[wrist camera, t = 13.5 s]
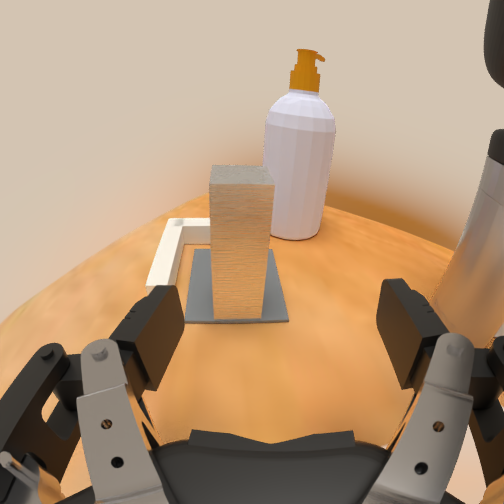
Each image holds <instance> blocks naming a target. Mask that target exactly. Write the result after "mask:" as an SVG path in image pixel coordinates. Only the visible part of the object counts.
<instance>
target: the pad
mask: <svg viewBox="0 0 504 504" xmlns="http://www.w3.org/2000/svg"><path fill="white" fill-rule="evenodd" d="M288 321H289V318H288V313H287V309H286V305H285V301H284V296H283V292H282V288H281V284H280V280H279V275H278V271H277V267H276V263H275V259H274V255H273V251H272V249H269V251H268V260H267V270H266V279H265V288H264V297H263V305H262V314H261V319H257V320H214V309H213V291H212V269H211V249H195V251H194V257H193V264H192V270H191V277H190V284H189V291H188V298H187V305H186V313H185V323H271V322H288Z"/></svg>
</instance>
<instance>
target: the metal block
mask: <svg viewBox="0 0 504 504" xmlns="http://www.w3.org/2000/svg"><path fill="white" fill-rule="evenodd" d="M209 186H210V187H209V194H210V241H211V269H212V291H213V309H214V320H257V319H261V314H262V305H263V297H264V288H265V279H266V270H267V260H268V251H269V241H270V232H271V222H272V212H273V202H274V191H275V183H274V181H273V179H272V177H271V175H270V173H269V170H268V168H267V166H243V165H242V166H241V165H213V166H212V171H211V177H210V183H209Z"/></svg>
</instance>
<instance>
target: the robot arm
mask: <svg viewBox="0 0 504 504" xmlns="http://www.w3.org/2000/svg"><path fill="white" fill-rule="evenodd" d="M484 58H485V63H486V67H487V70H488V72H489V74H490V76H491V77H492V78H493V80H494V81H495V82H496V83H497V84H499V85H500V86H501V87H503V88H504V0H490V3H489V9H488V14H487V20H486V26H485V34H484ZM488 155H489V156H487V158H486V162H485V166H484V170H483V173H482V177H481V181H480V184H479V188H478V191H477V195H476V197H475V200H474V203H473V206H472V209H471V212H470V215H469V218H468V220H467V223H466V226H465V228H464V231H463V234H462V236H461V238H460V241H459V243H458V245H457V248H456V250H455V252H454V254H453V257H452V259H451V261H450V263H449V265H448V267H447V269H446V272H445V274H444V275H443V278H442V280H441V282H440V284H439V286H438V287H437V289H436V291H435V293H434V295H433V297H432V299H431V300H430V302H429V303H428V301H427V300H426V299H425V297H424V296H423V295H421V294H420V293H418V292H417V291H415V290H411V289H410V288H409V286H408V285H407V284H406V282H405V281H404V280H403V279H402V278H398V279H385V280H383V282H382V286H381V292H380V298H379V303H378V309H377V315H376V322H377V328H378V331H379V333H380V335H381V338H382V340H383V342H384V345H385V347H386V350H387V352H388V355H389V357H390V360H391V362H392V365H393V367H394V370H395V373H396V375H397V378H398V381H399V383H400V386H401V389H402V390H403V389H408V388H413V389H414V391H415V392H414V394H413V396H412V399H411V401H410V403H409V405H408V407H407V410H406V412H405V414H404V416H403V418H402V420H401V422H400V424H399V426H398V428H397V430H396V432H395V434H394V436H393V437H392V439H391V441H390V442H389V444H388V446H387V448H386V449H384V448H382V447H380V446H377V445H374V444H371V443H367V442H361V441H355V440H354V433H353V430H352V431H344V432H335V433H323V434H312V435H309V436H305V437H301V438H297V439H293V440H289V441H284V442H280V443H274V444H268V443H263V442H259V441H255V440H251V439H248V438H244V437H240V436H237V435H233V434H230V433H219V432H209V431H201V430H193V429H192V431H191V434H190V438H189V439H187V440H180V441H175V442H171V443H167V444H165V445H164V443H163V442H162V440H161V438H160V436H159V434H158V432H157V430H156V427H155V425H154V423H153V420H152V418H151V415H150V413H149V410H148V408H147V405H146V403H145V400H144V398H143V396H142V394H143V392H144V390H145V389H146V390H151V391H157V389H158V386H159V384H160V382H161V380H162V378H163V375H164V373H165V371H166V369H167V366H168V364H169V362H170V360H171V358H172V356H173V353H174V351H175V349H176V347H177V345H178V343H179V340H180V338H181V336H182V334H183V331H184V325H185V321H184V315H183V311H182V307H181V303H180V299H179V294H178V290H177V288H176V286H175V285H156V286H155V287H154V288H153V290H152V291H151V292H150V294H149V295H148V296H147V297H144V298H142V299H141V300H140V301H138V302H137V303H135V305H134V306H133V307H132V308H131V310H130V312H129V313H128V314H127V315H126V316H125V319H123V320H122V321H121V323H120V324H119V325H118V327H117V328H116V329H115V331H114V332H113V333H112V335H111V336H110V337H109V339H100V340H96V341H94V342H92V343H90V344H88V345H87V346H86V347H85V348H84V349H83V351H82V353H81V354H72V355H67V354H66V352H65V350H64V349H63V347H62V345H60V344H58V343H50V344H47V345H45V346H43V347H41V348H40V349H39V350H38V351H37V352H36V353H35V354H34V355H33V357H32V358H31V359H30V360H29V362H28V363H27V364H26V365H25V367H24V368H23V369H22V371H21V372H20V373H19V375H18V376H17V377H16V379H15V380H14V381H13V383H12V384H11V385H10V387H9V388H8V390H7V391H6V392H5V394H4V395H3V397H2V398H1V400H0V504H465V503H464V502H462V501H460V500H459V499H457V498H456V497H454V496H453V495H451V494H450V493H448V492H446V491H445V490H446V488H447V485H448V483H449V480H450V478H451V476H452V473H453V470H454V467H455V465H456V462H457V459H458V456H459V453H460V450H461V447H462V444H463V440H464V437H465V434H466V430H467V426H468V424H469V427H470V430H471V433H472V436H473V439H474V442H475V446H476V449H477V452H478V455H479V459H480V463H481V466H482V470H483V474H484V478H485V483H486V488H487V489H486V491H485V493H484V496H483V500H482V501H481V502H480V503H479V504H504V411H503V409H502V407H501V405H500V402H499V400H498V397H499V396H500V394H501V393H502V392H503V391H504V336H499V337H497V338H496V339H495V340H494V342H493V344H492V346H491V348H490V349H486V348H485V347H486V346H487V345H488V343H489V342H490V341H491V339H492V338H493V337H494V336H495V334H496V333H497V332H498V330H499V329H500V328H501V326H502V325H503V323H504V129H499V130H495V131H494V132H493V134H492V136H491V140H490V144H489V149H488ZM52 391H53V393H54V394H55V396H56V397H57V398H58V400H59V402H58V403H57V405H56V407H55V408H54V410H53V412H52V414H51V415H50V417H49V419H48V421H47V422H46V423H45V422H44V420H43V418H42V414H41V412H42V408H43V406H44V404H45V402H46V401H47V399H48V398H49V396H50V394H51V393H52ZM80 437H81V438H82V444H83V449H84V454H85V458H86V463H87V467H88V471H89V475H90V479H91V483H92V486H90V487H88V488H86V489H84V490H82V491H80V492H78V493H76V494H74V495H72V496H70V497H67V498H65V496H64V494H63V493H61V487H60V483H61V480H62V478H63V475H64V473H65V470H66V468H67V466H68V463H69V461H70V459H71V457H72V454H73V452H74V450H75V448H76V445H77V443H78V441H79V439H80Z"/></svg>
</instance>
